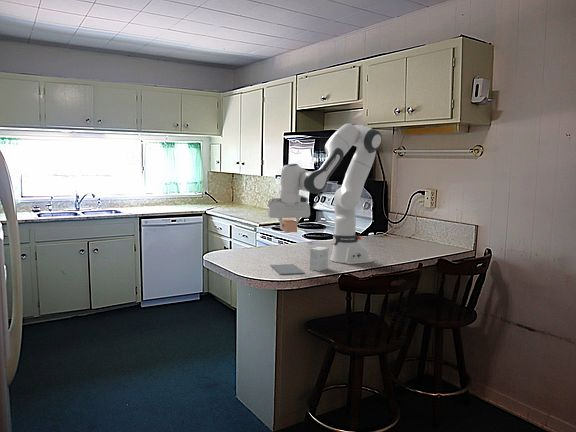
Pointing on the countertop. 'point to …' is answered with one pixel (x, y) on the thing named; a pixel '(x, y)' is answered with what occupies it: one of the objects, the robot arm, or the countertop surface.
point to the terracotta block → (289, 225)
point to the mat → (287, 269)
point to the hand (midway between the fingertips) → (288, 227)
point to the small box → (319, 258)
